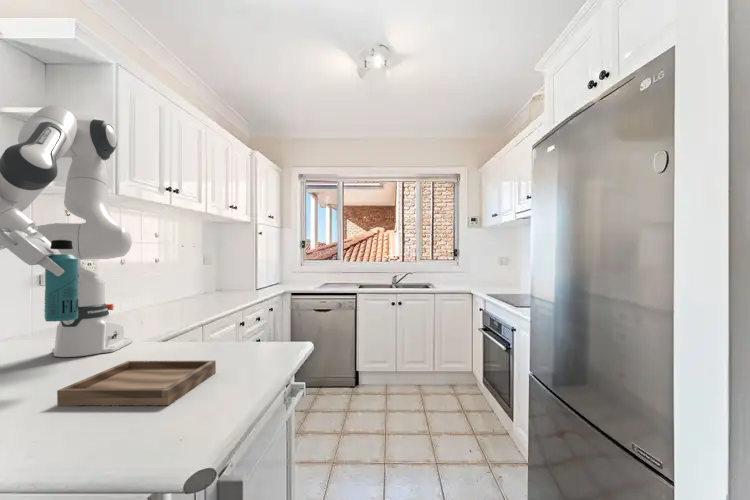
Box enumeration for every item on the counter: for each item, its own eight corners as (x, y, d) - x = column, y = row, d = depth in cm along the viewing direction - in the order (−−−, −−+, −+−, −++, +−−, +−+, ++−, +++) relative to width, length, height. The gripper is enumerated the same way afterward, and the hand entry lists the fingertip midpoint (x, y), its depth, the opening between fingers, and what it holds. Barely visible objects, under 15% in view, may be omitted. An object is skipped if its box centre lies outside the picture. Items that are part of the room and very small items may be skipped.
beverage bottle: (60, 328, 92) (60, 238, 93) (35, 328, 94) (36, 239, 94) (86, 324, 99) (86, 240, 99) (62, 323, 100) (63, 241, 101)
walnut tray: (128, 373, 103) (128, 360, 103) (215, 372, 102) (215, 360, 102) (57, 405, 81) (57, 390, 81) (168, 405, 80) (167, 390, 80)
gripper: (9, 217, 84) (69, 264, 89) (34, 223, 102) (83, 262, 107) (-20, 239, 82) (43, 286, 87) (11, 242, 100) (61, 280, 105)
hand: (65, 273), depth 97 cm, fingers closed on beverage bottle, 6 cm apart
